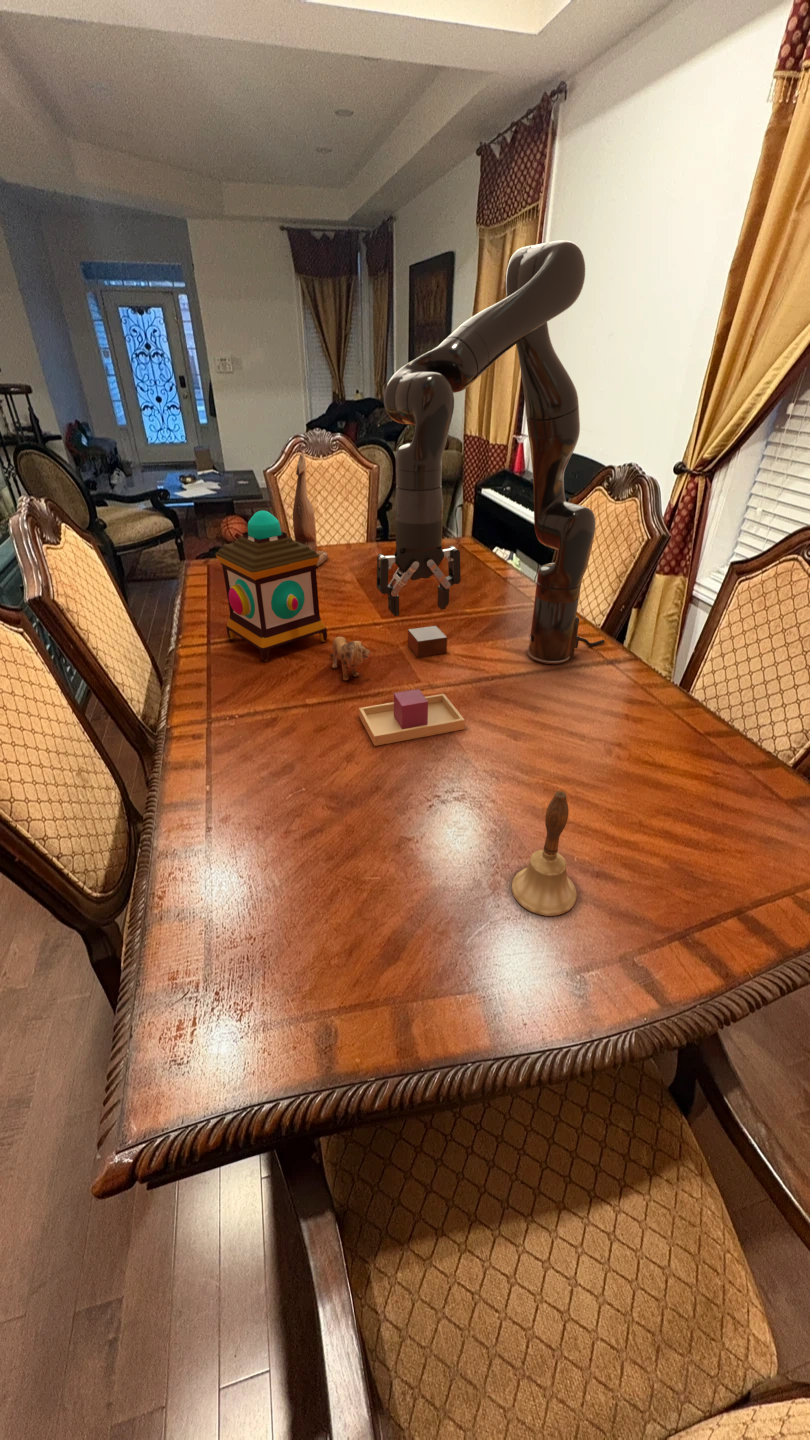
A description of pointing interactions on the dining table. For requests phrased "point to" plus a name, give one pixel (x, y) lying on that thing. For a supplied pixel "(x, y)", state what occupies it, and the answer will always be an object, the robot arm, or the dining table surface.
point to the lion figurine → (348, 655)
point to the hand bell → (547, 869)
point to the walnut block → (427, 641)
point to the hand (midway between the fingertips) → (418, 611)
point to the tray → (389, 731)
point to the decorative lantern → (270, 586)
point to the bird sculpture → (305, 514)
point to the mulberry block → (410, 709)
